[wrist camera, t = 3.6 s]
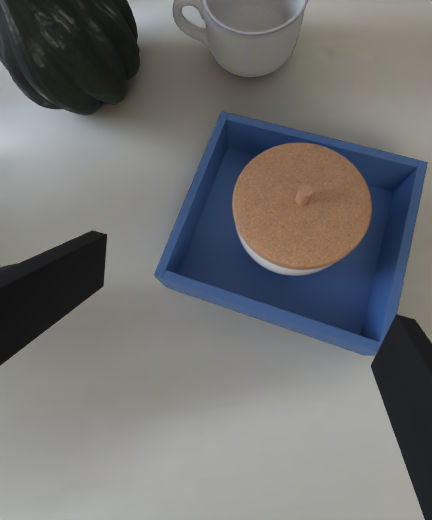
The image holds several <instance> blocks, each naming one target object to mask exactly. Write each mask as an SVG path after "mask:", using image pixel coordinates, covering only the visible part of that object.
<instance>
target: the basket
mask: <svg viewBox="0 0 432 520" xmlns="http://www.w3.org/2000/svg"><path fill="white" fill-rule="evenodd" d="M287 143H311V144H317V145H320V146H324V147H327V148H329V149H331V150H333V151H336V152H337V153H339V154H341V155H342V156H344V157H345V158H346V159H348V160H349V161H350V162H351V163H352V164H353V165H354V166H355V167H356V168H357V169H358V170H359V172H360V173H361V175H362V176H363V178H364V180H365V182H366V184H367V186H368V189H369V192H370V196H371V203H372V213H371V220H370V223H369V227H368V229H367V231H366V233H365V235H364V237H363V239H362V240H361V241H360V243H359V244H358V245H357V246H356V247H355V248H354V249H353V250H352V251H351V252H350V253H349V254H348V255H346V256H345V257H343V258H342V259H340V260H339V261H337V262H336V263H334V264H332V265H331V266H329V267H327V268H325V269H323V270H321V271H318V272H316V273H312V274H308V275H300V276H289V275H282V274H278V273H275V272H272V271H270V270H268V269H266V268H264V267H262V266H261V265H260V264H258V263H257V262H256V261H255V260H254V259H253V258H252V257H251V256H250V255H249V254H248V253H247V251H246V250H245V248H244V247H243V245H242V243H241V241H240V239H239V237H238V234H237V230H236V227H235V220H234V217H233V208H232V201H233V192H234V188H235V184H236V182H237V179H238V177H239V175H240V174H241V172H242V171H243V169H244V168H245V167H246V165H247V164H248V163H249V162H250V161H251V160H252V159H254V158H255V157H256V156H257V155H259V154H261V153H262V152H264V151H266V150H268V149H270V148H273V147H275V146H279V145H283V144H287ZM427 164H428V162H424V161H420V160H419V161H418V160H417V159H413V158H409V157H404V156H400V155H396V154H392V153H388V152H384V151H380V150H376V149H372V148H368V147H364V146H360V145H356V144H352V143H348V142H344V141H340V140H336V139H332V138H328V137H324V136H320V135H316V134H312V133H308V132H304V131H299V130H295V129H291V128H287V127H283V126H279V125H275V124H271V123H267V122H263V121H259V120H255V119H251V118H247V117H243V116H239V115H235V114H231V113H226V112H221V114H220V116H219V119H218V121H217V123H216V126H215V128H214V131H213V133H212V136H211V138H210V140H209V143H208V145H207V148H206V150H205V153H204V155H203V157H202V160H201V162H200V165H199V167H198V170H197V172H196V174H195V177H194V179H193V182H192V184H191V187H190V189H189V191H188V194H187V196H186V199H185V201H184V203H183V206H182V208H181V211H180V213H179V216H178V218H177V220H176V223H175V225H174V228H173V230H172V233H171V235H170V237H169V240H168V242H167V245H166V247H165V250H164V252H163V254H162V257H161V259H160V262H159V264H158V267H157V269H156V271H155V274H154V276H155V277H156V278H157V279H158V280H159V281H160V282H161V283H162V284H164V285H165V287H167V288H170V289H173V290H176V291H179V292H182V293H185V294H188V295H191V296H194V297H196V298H199V299H202V300H205V301H208V302H211V303H214V304H217V305H220V306H223V307H226V308H228V309H231V310H234V311H237V312H240V313H243V314H246V315H249V316H252V317H255V318H257V319H260V320H263V321H266V322H269V323H272V324H275V325H278V326H281V327H284V328H286V329H289V330H292V331H295V332H298V333H301V334H304V335H307V336H310V337H313V338H316V339H318V340H321V341H324V342H327V343H330V344H333V345H336V346H339V347H342V348H345V349H347V350H350V351H353V352H356V353H359V354H362V355H376V354H377V352H378V350H379V348H380V346H381V344H382V342H383V340H384V338H385V336H386V334H387V332H388V330H389V328H390V326H391V323H392V321H393V319H394V317H395V315H397V310H398V305H399V300H400V295H401V291H402V286H403V281H404V276H405V271H406V266H407V261H408V256H409V251H410V247H411V242H412V237H413V232H414V227H415V222H416V217H417V212H418V208H419V203H420V198H421V193H422V188H423V183H424V178H425V173H426V168H427Z"/></svg>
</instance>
